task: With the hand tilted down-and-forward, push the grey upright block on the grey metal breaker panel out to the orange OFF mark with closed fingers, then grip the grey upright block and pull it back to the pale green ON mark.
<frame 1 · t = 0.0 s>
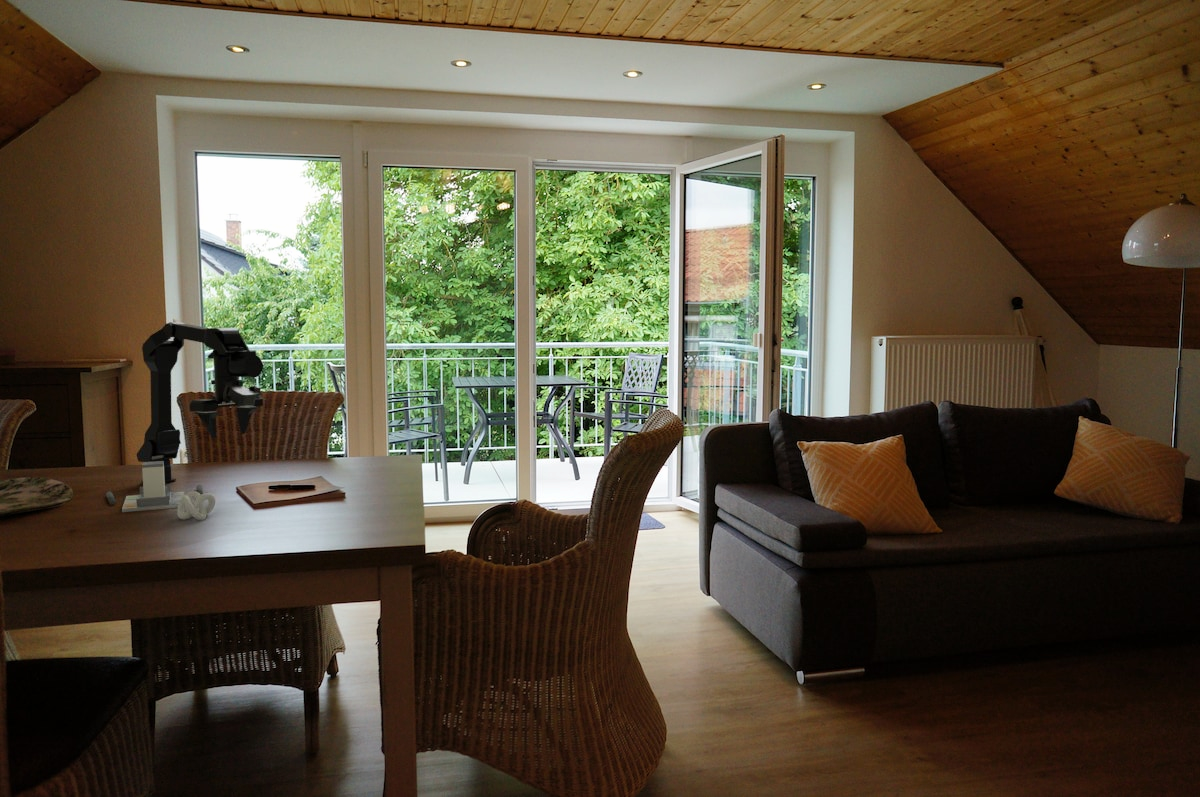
hand: (228, 436, 220), 15 cm above the table, fingers open, 9 cm apart
knot: (198, 519, 192), on the table
panel: (154, 502, 207), on the table
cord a: (199, 493, 218), on the table
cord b: (110, 500, 209), on the table
grey upright block: (153, 481, 206), point 5 cm above the table, slide at 4.5 cm
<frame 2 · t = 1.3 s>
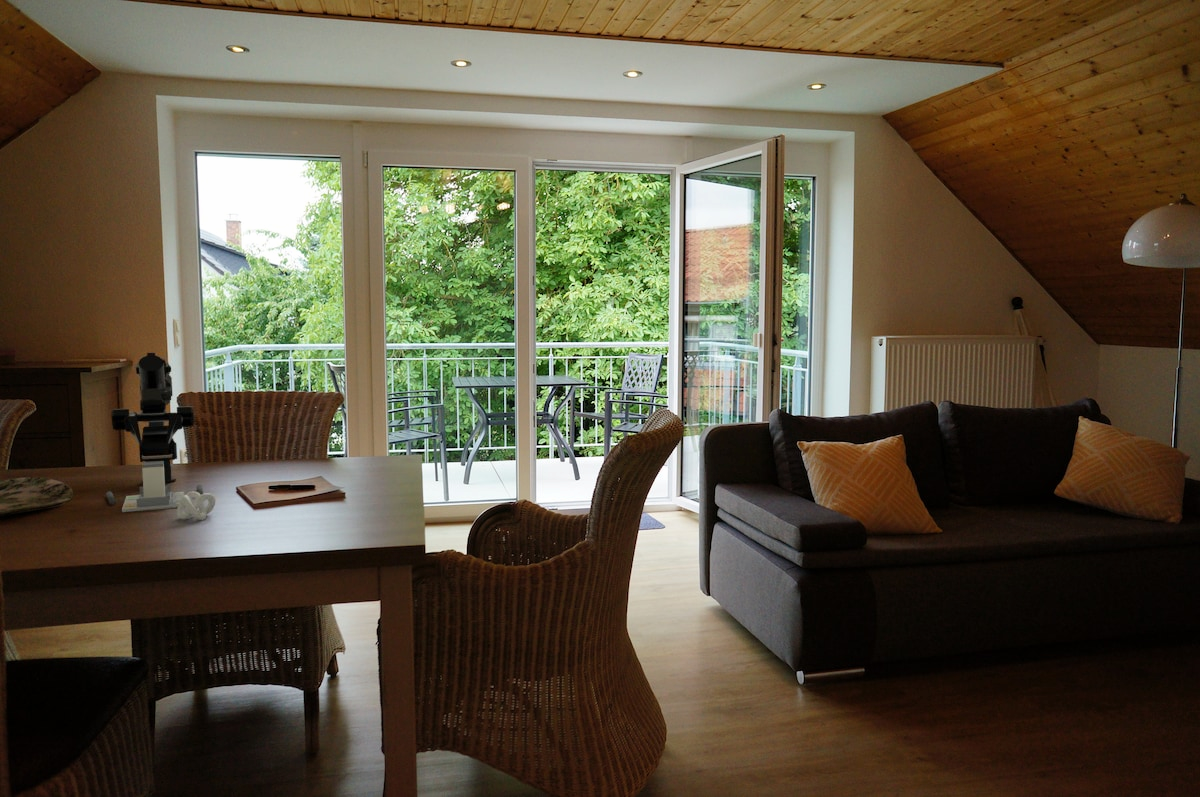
hand: (154, 443, 213), 14 cm above the table, fingers open, 6 cm apart
nothing on the table moved.
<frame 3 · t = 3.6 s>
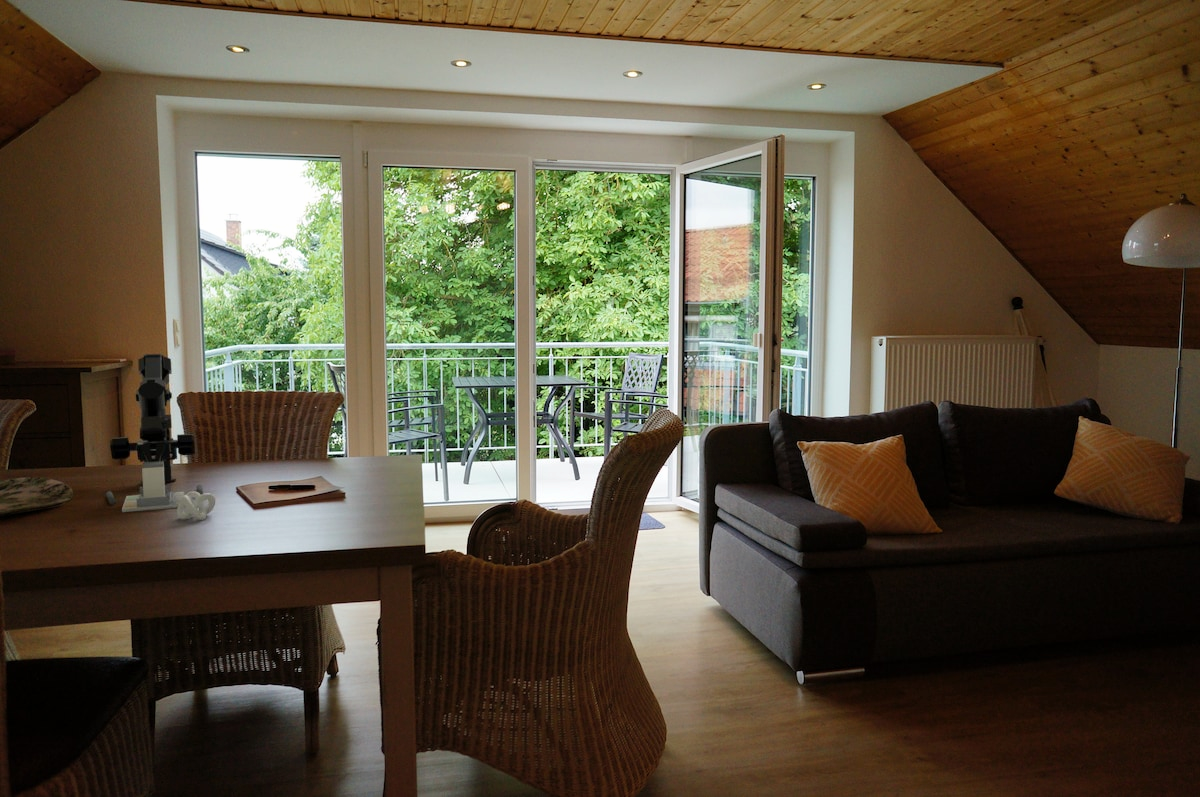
hand: (153, 473, 208), 7 cm above the table, fingers closed, pressing on grey upright block
grey upright block: (153, 481, 206), point 5 cm above the table, slide at 5.1 cm, touching gripper
everything else where it was.
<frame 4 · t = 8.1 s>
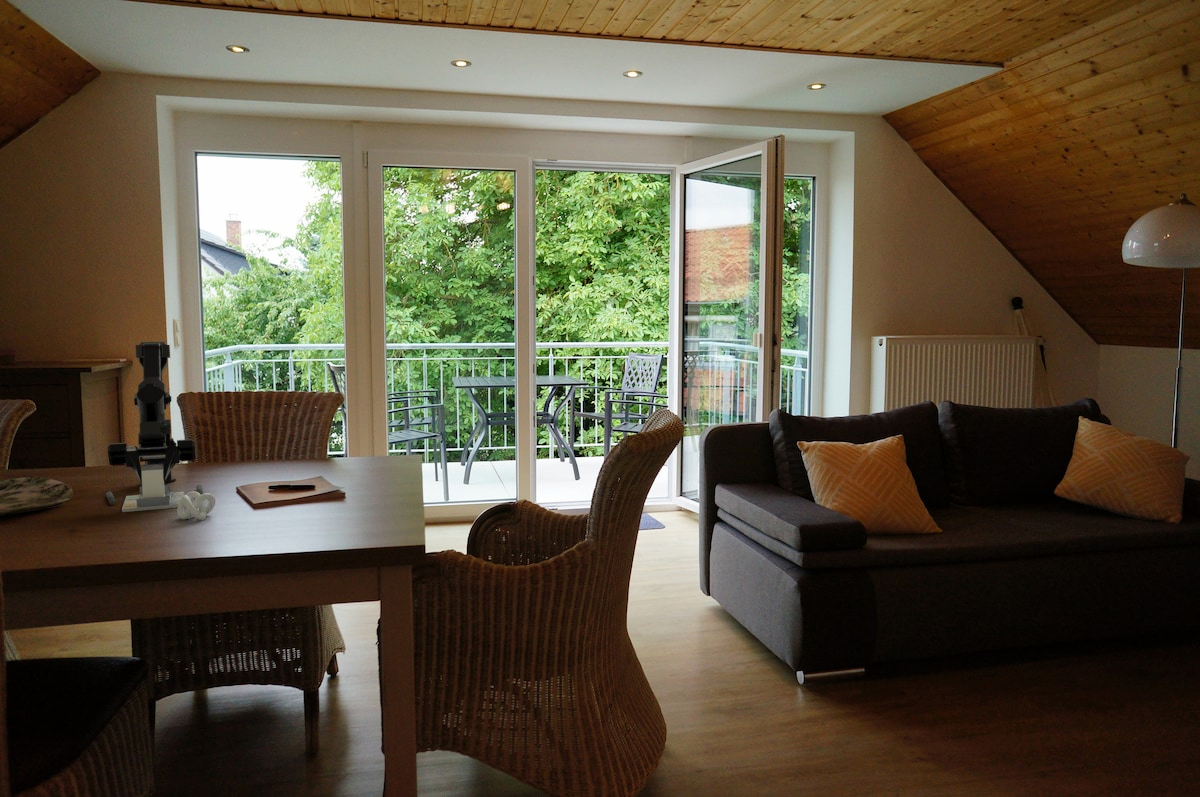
hand: (152, 480, 202), 7 cm above the table, fingers closed on grey upright block, 4 cm apart
grey upright block: (153, 484, 203), point 5 cm above the table, slide at 8.8 cm, touching gripper
everything else where it was.
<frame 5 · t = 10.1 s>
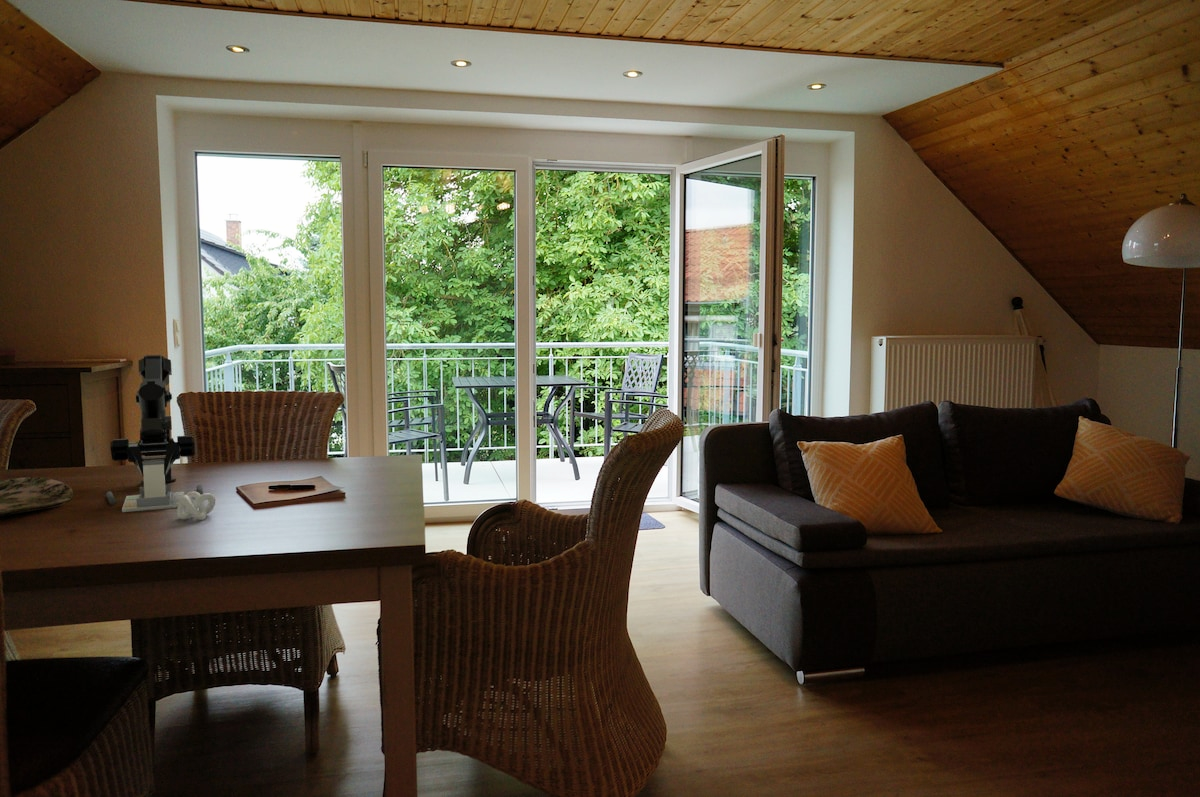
hand: (153, 474, 209), 7 cm above the table, fingers closed on grey upright block, 4 cm apart
grey upright block: (154, 478, 210), point 5 cm above the table, slide at 0.9 cm, touching gripper
everything else where it was.
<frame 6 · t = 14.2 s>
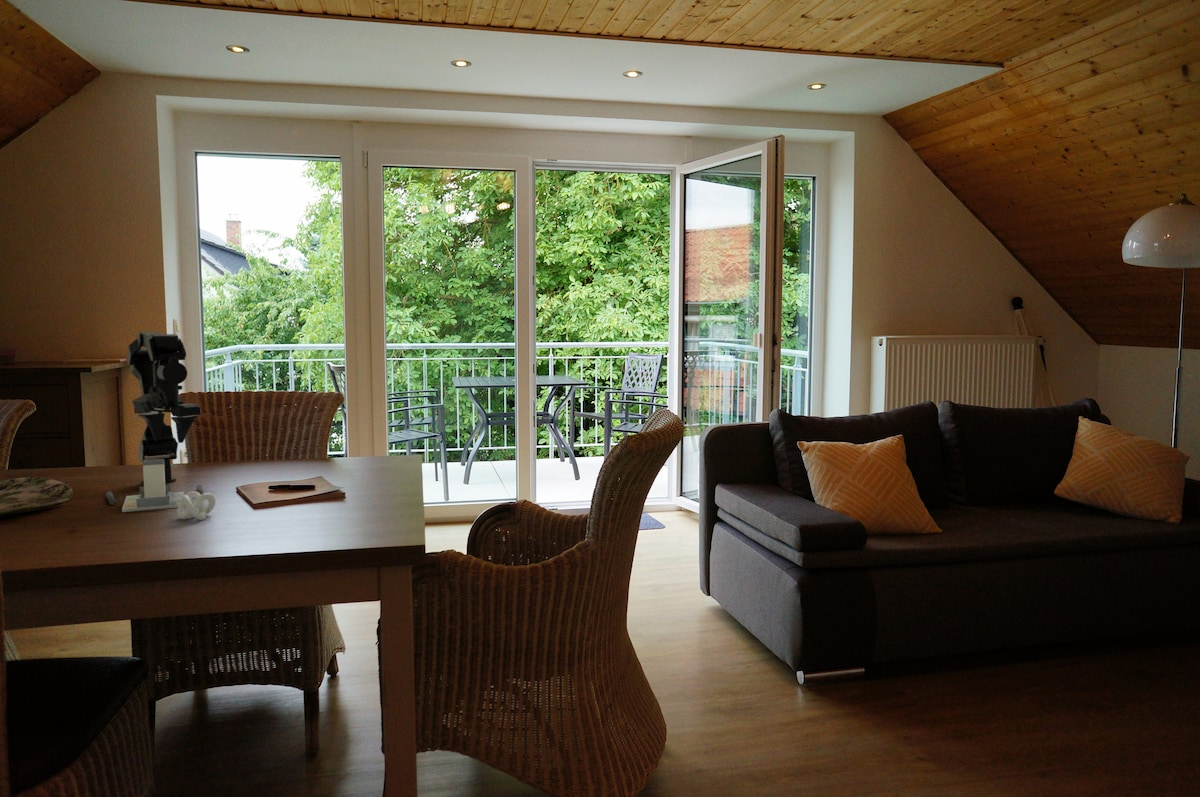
hand: (168, 441, 221), 13 cm above the table, fingers open, 9 cm apart
grey upright block: (154, 478, 210), point 5 cm above the table, slide at 0.8 cm
everything else where it was.
at the end: grey upright block slide at 0.8 cm; the gripper is holding nothing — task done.
